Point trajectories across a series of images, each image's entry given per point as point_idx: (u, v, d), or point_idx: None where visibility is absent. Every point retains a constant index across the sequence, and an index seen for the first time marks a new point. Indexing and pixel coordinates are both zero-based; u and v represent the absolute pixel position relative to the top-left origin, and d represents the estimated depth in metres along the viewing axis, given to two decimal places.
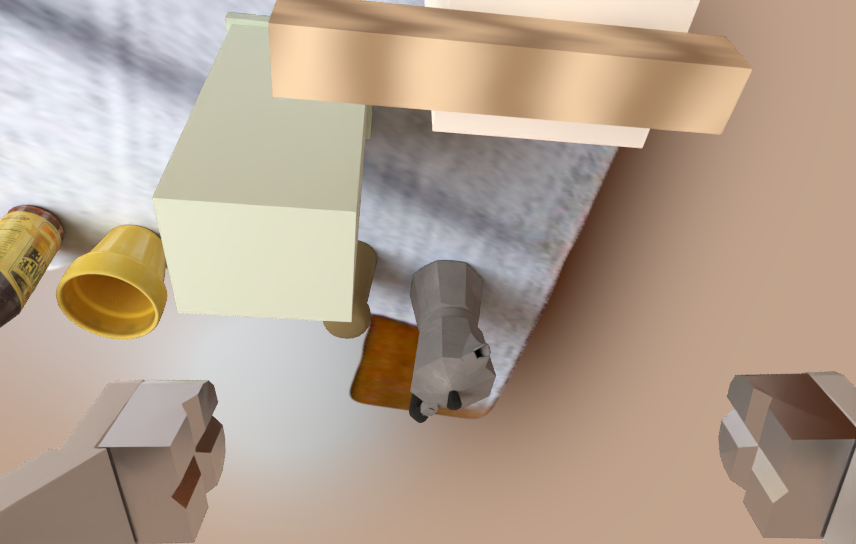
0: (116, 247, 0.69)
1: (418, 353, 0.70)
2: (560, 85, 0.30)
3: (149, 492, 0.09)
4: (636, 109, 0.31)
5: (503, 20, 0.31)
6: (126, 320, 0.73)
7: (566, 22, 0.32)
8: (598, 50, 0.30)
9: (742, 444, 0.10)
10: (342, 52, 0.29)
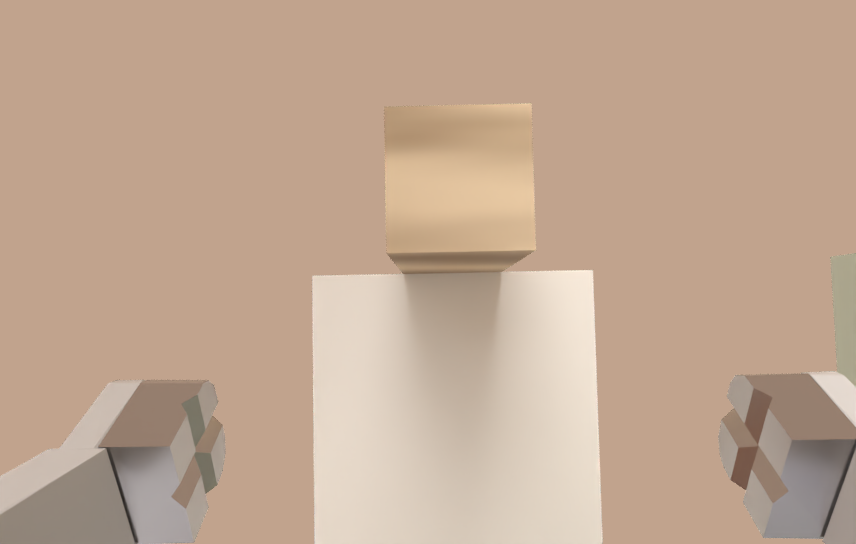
0: None
1: None
2: None
3: (149, 492, 0.09)
4: None
5: None
6: None
7: None
8: None
9: (742, 444, 0.10)
10: None
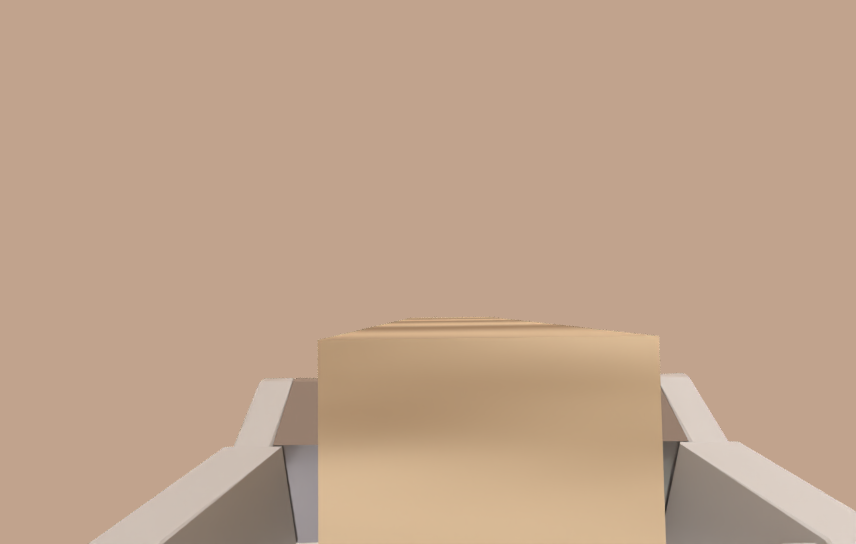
0: None
1: None
2: None
3: (317, 490, 0.09)
4: (473, 318, 0.24)
5: None
6: None
7: None
8: None
9: None
10: (422, 330, 0.10)
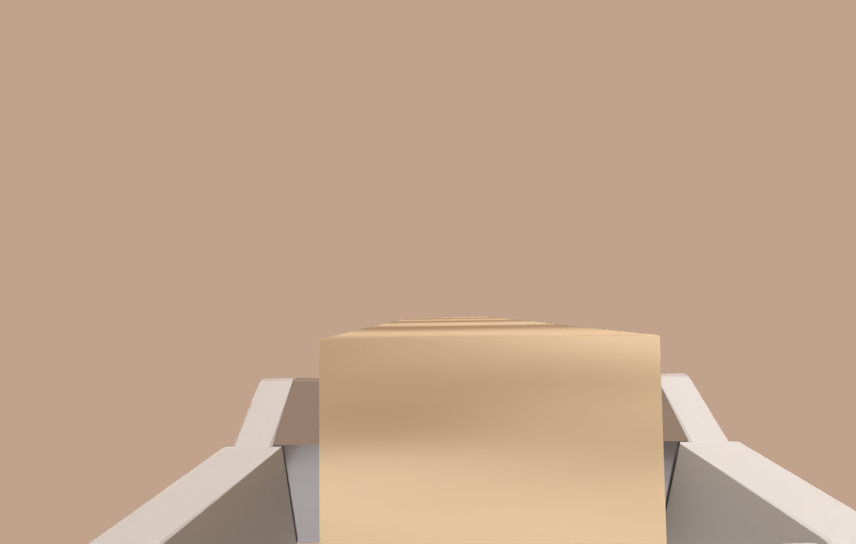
0: None
1: None
2: None
3: (317, 490, 0.09)
4: (472, 318, 0.24)
5: None
6: None
7: None
8: None
9: None
10: (423, 330, 0.10)
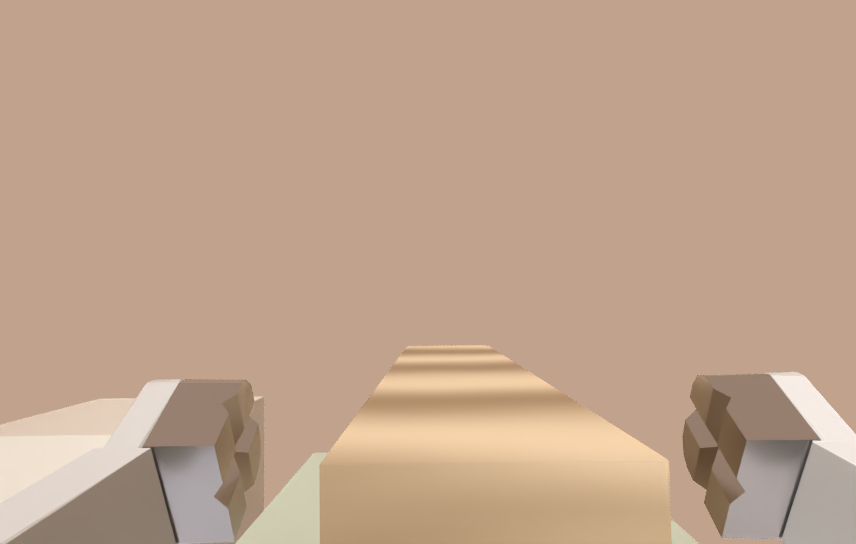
0: None
1: None
2: (450, 360, 0.20)
3: (192, 491, 0.09)
4: (471, 351, 0.24)
5: None
6: None
7: None
8: None
9: (703, 445, 0.10)
10: (423, 413, 0.10)
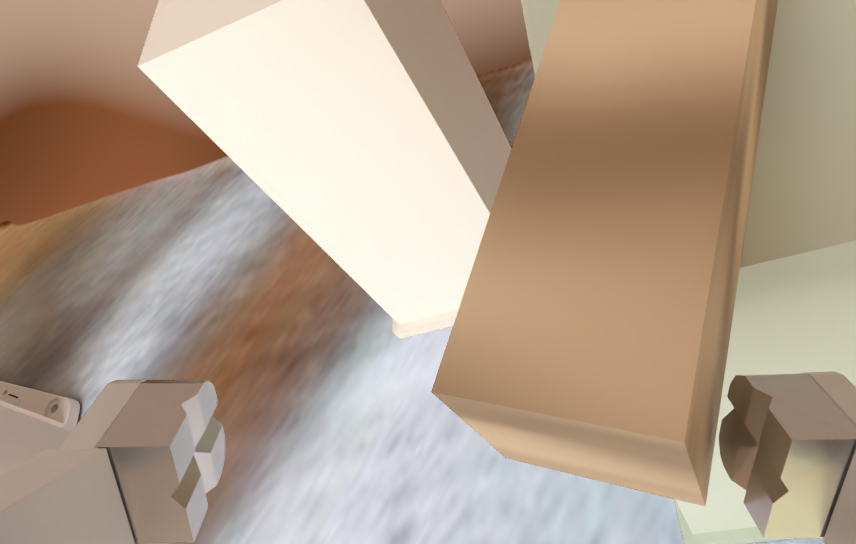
0: None
1: None
2: None
3: (149, 492, 0.09)
4: None
5: None
6: None
7: None
8: None
9: (742, 444, 0.10)
10: (548, 213, 0.10)
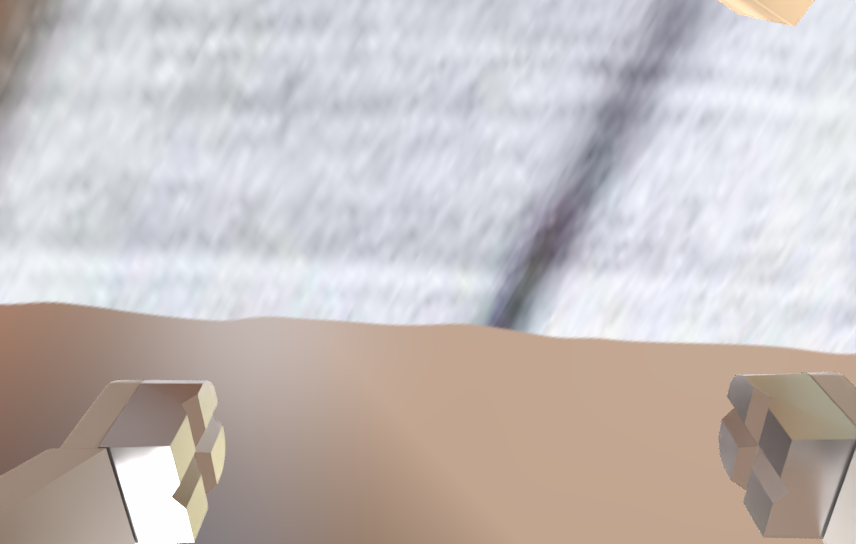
0: None
1: None
2: None
3: (149, 492, 0.09)
4: None
5: None
6: None
7: None
8: None
9: (742, 444, 0.10)
10: None
